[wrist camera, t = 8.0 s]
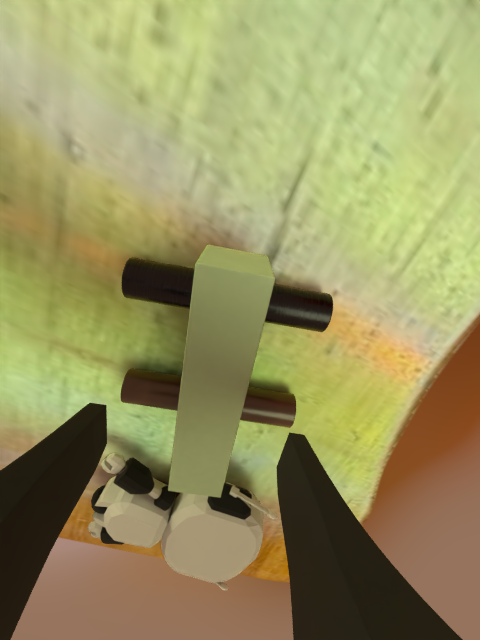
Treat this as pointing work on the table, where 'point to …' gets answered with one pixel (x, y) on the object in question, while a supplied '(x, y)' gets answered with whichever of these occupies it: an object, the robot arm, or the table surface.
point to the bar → (217, 364)
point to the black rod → (176, 290)
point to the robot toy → (179, 522)
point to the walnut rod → (166, 391)
